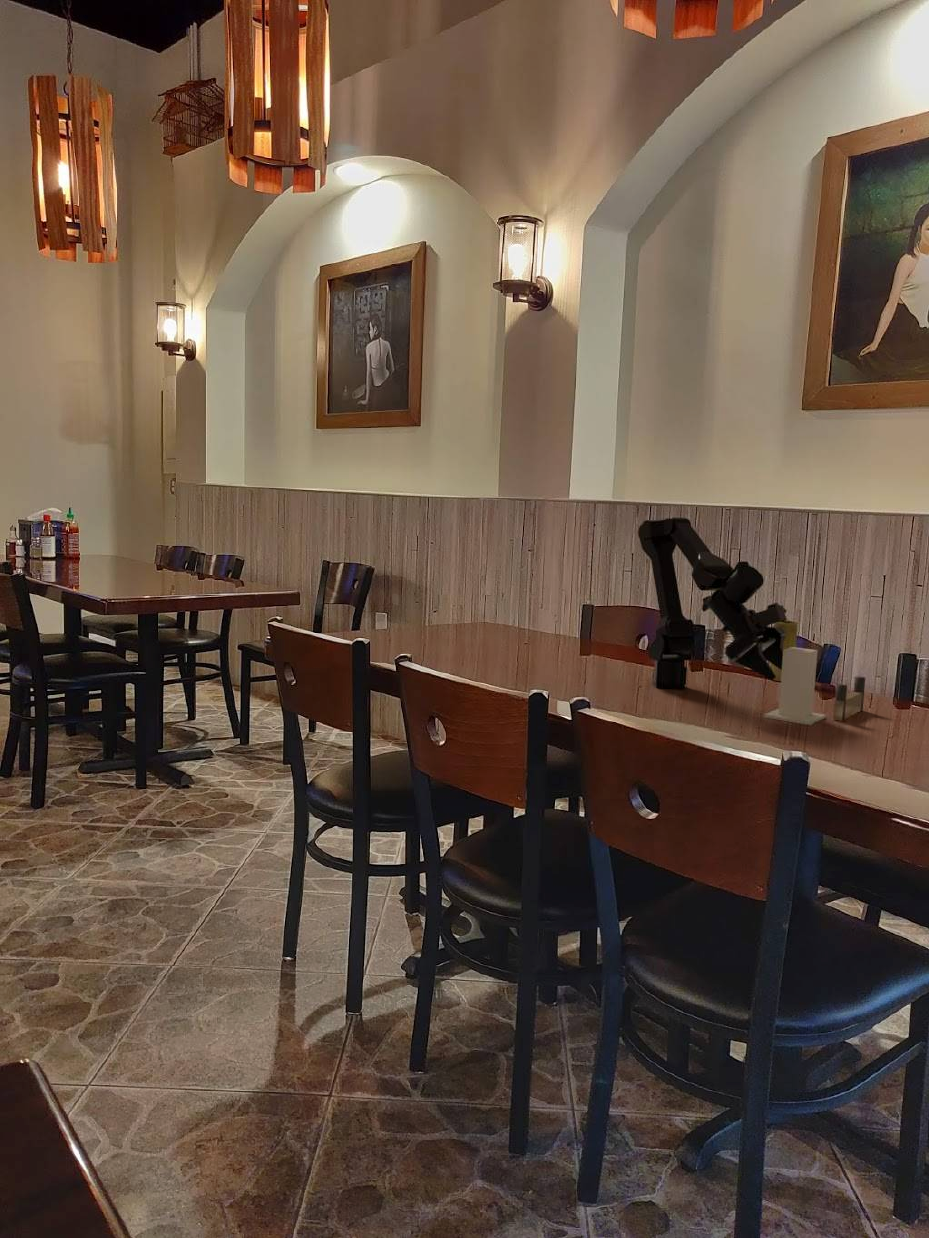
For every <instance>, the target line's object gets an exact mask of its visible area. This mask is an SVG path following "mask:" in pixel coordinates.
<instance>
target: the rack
mask: <svg viewBox="0 0 929 1238" xmlns="http://www.w3.org/2000/svg"><path fill="white" fill-rule="evenodd" d="M853 685H854V686H853V691H852V692H850V693H847V692H848V685H847V684H839V683H837V684H836V685H835V686H836V687H835V694H834V695H835V697H834V698H835V699H834V705H833V717H832V718H833V721H836V720H839V721H838V722H844V721H845V720H847V719H849V718H851V717H852V716H851V715H853V714H855V713H857V712H859V713H861V712H860V711H862V712H863V710H864V700H865V686H866V677H864V676H854V684H853ZM857 714H858V713H857ZM855 715H856V714H855ZM850 716H851V717H850ZM853 716H854V715H853ZM848 717H849V718H848ZM846 718H847V719H846ZM844 719H845V720H844Z"/></svg>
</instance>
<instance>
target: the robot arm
mask: <svg viewBox="0 0 929 1238" xmlns="http://www.w3.org/2000/svg"><path fill="white" fill-rule="evenodd" d="M637 533H638V534H637V537H638V538H639V541H640V545H641V546H640V547H641V548H642V551H643V552H644V553H645V554H646V555H647V556H648V557H649V558H650V561H651V562H650V563H651V569H652V574H653V579H654V586H655V587H654V588H655V592H656V597H657V603H658V610H659V618H660V619H659V622H658V624H657V627H656V628H655V639H654V640H653V641H652V643H651V645H650V646H649V647H648V649H647V653H648V659H650V660H653V661H654V673H653V674H654V675H653V680H651V683H652V684H653V685H654V687H656V688H660V689H682V690H683V689H684V690H685V689H686V685H687V675H688V674H687V673H688V672H687V671H688V668H687V666H685V664H686V661H688V662H689V661H690V662H691V661H692V659H693V656H694V652H695V649H696V646H697V645H696V644H697V640H696V639H697V638H696V637H697V634H696V632H695V625H694V621H693V620H692V619H690V618H689V619H687V617H685V616H684V614H683V610H682V603H681V598H680V592H679V591H680V590H679V585H678V579H677V573H676V569H675V563H674V557H673V553H674V552H675V550H676V547H678V548H679V550H680V551H681V553H682V554H683V556H684V557H685V559H686V560H687V561H688V563H689V564H690V566H691V568H692V572H691V577H692V579H693V580H694V584H695V585H696V587H697V589H699V591H710V592H711V591H713V592H712V593H711V595H707V596H705V597H703V598H702V605H701V606H702V607H701V608H702V609H701V611H702V612H704V613H705V612H706V611H709V610H711V611H712V613H714V615H715V616H716V617H717V619H718V621H720V623H721V624H722V625H723V627H722V628H721V629H722V630H723V632H724V633H729V634H730V635H731V637H732V638H733V641H731V642H730V643H729V644H728V645H726V646H725V650H724V654H725V655H726V657H727V658H728V660H729V661H731V662H732V661H734V662H735V664H739V665H741V666H744V667H745V668H748V669H749V670H751V671H753V672H755V673H757V674H758V675H760V676H762V677H764V678H766V679H768V680H770V681H774V679H775V678H776V676H775V674H774V672H773V670H772V669H771V664H770V663H772V664H773V665H775V666H776V667H778V668H779V669H781V670H782V659H783V650H784V649H783V643H784V639H785V636H784V635H785V634H786V633H785V631H784V630H783V629H782V628H781V627H780V626H775V623H777V622H782V621H785V620H786V621H788V618H787V616H786V613H787V609H786V608H784V606H783V605H780V604H779V603H778V602H774V603H771V604H768V605H767V607H766V609H764V610H761V611H758V612H756V611H755V610H754V609H752V608H750V609H748V608H747V607H746V606H745V604H746V603H747V602H748V601H749V600H750V599H751V598H752V597H753V596H754V595H755V593H757V592H758V591H759V589H760V588H761V587H762V586H763V584H764V576H763V574H762V573H760V572H759V571H758V570H757V568H754V567H753V566H751V565H750V564H749V561H745V560H744V561H741V560H739V561H738V562H737V563H736V565H735V566H734V568H733V567H732V565H731V564H729V563H728V562H727V561H726V560H725V559H724V558H722V557H720V556H717V555H715V554H714V553H712V552H711V550H710V549H709V547H708V546H707V545H706V544H705V542H704V540H703V539H702V538H701V537H700V536H699V534H698V533H697V532H696V530H695V529H694V527H692V523H691V520H690V519H689V518H686V517H681V516H680V517H675V516H674V517H672V516H670V517H668V518H665V519H659V520H658V519H656V520H655V519H646V520H644V521H642V524H641V525H639V527H638V531H637ZM649 558H648V559H649ZM772 624H774V625H772ZM771 625H772V626H771Z"/></svg>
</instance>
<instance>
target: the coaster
mask: <svg viewBox="0 0 929 1238" xmlns="http://www.w3.org/2000/svg"><path fill="white" fill-rule="evenodd" d="M778 713H779V708H777V709H775V710H772V711H769V712H767V713H765V714H764V718H766V719H772V720H778V721H783V722H788V723H790V722H791V723H796V724H800V725H801V724H802V725H806V726H812V725H814V724H816V723H818V722H820V721H822V720H824V719H826V718H827V715H826V714H824V713H817V712H813V713H812V715H810V716H808V717H806V718H804V719H803V718H797V717H791V716H785V715H779V714H778ZM825 717H826V718H825ZM815 722H816V723H815ZM813 723H814V724H813Z"/></svg>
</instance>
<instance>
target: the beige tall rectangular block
mask: <svg viewBox="0 0 929 1238" xmlns="http://www.w3.org/2000/svg"><path fill="white" fill-rule="evenodd" d="M817 660H818V649H812V648H811V649H810V648H803V647H797V646H796V647H791V648H787V649H784V650H783V659H782V673H781V682H780V689H779V703H778V709H779V713H778V714H779V715H785V716H791V717H797V718H803V719H804V718H806V717H808V716H810V715H812V713H814V701H815V700H814V697H815V688H816V687H815V685H816V672H817Z"/></svg>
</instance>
